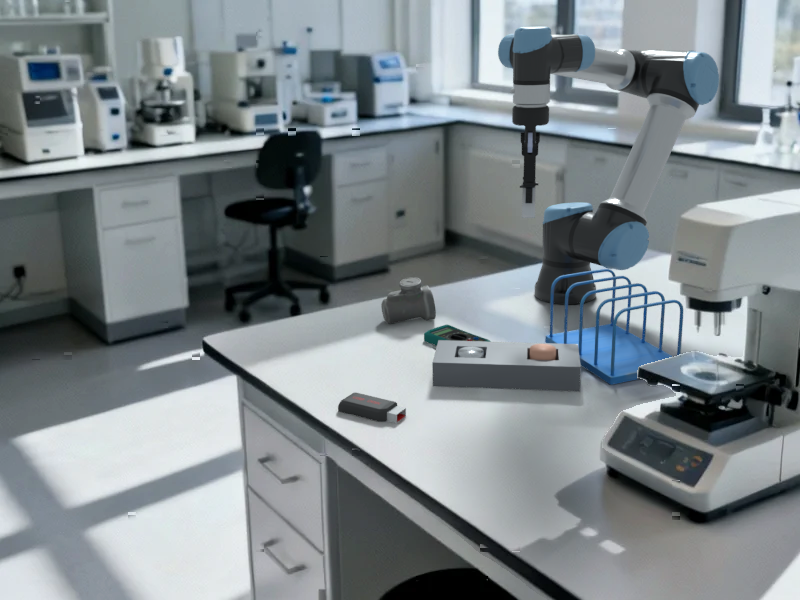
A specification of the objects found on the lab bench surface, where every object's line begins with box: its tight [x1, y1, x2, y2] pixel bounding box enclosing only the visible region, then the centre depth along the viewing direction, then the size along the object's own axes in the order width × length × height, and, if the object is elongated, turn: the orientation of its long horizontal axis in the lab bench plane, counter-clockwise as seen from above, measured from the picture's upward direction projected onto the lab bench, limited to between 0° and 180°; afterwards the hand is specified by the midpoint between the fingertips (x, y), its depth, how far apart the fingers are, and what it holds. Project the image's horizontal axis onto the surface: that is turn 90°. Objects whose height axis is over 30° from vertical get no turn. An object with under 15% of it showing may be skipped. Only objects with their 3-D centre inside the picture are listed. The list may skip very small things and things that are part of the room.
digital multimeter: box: [423, 324, 492, 347], centre depth 199 cm, size 7×15×3 cm, turn 40°
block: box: [431, 340, 582, 392], centre depth 182 cm, size 28×12×5 cm, turn 82°
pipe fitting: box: [381, 276, 437, 325], centre depth 213 cm, size 12×8×10 cm, turn 101°
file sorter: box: [544, 268, 684, 385], centre depth 189 cm, size 25×17×15 cm
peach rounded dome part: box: [530, 344, 556, 360], centre depth 180 cm, size 5×5×4 cm
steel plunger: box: [458, 347, 484, 358], centre depth 182 cm, size 5×5×4 cm
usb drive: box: [337, 392, 407, 424], centre depth 168 cm, size 5×12×3 cm, turn 58°
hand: (528, 216), depth 197 cm, fingers closed
